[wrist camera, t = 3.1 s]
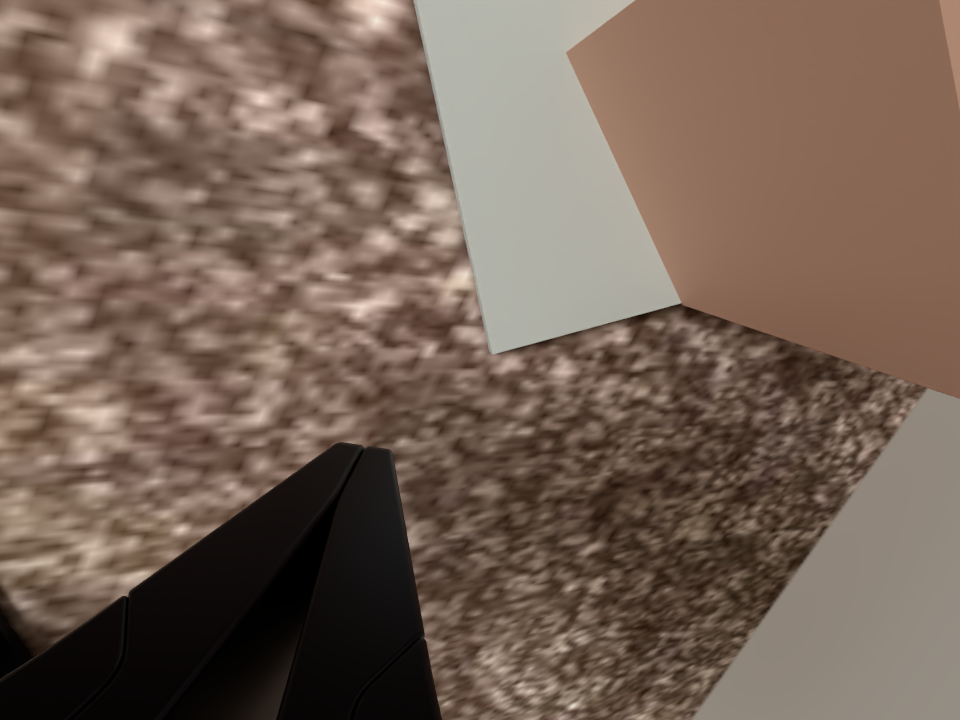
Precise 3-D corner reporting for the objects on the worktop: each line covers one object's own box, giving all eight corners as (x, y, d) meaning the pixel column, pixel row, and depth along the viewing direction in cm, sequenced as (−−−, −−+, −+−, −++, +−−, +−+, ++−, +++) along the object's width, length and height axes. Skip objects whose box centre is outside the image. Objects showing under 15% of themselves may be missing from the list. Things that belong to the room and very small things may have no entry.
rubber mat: (969, 220, 22) (982, 221, 22) (489, 351, 19) (492, 354, 19) (1024, -231, 17) (1042, -242, 16) (383, -140, 14) (383, -152, 14)
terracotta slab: (682, 304, 20) (1017, 418, 10) (565, 52, 16) (902, -201, 6) (766, 248, 20) (1191, 300, 10) (668, -17, 16) (1179, -388, 6)
